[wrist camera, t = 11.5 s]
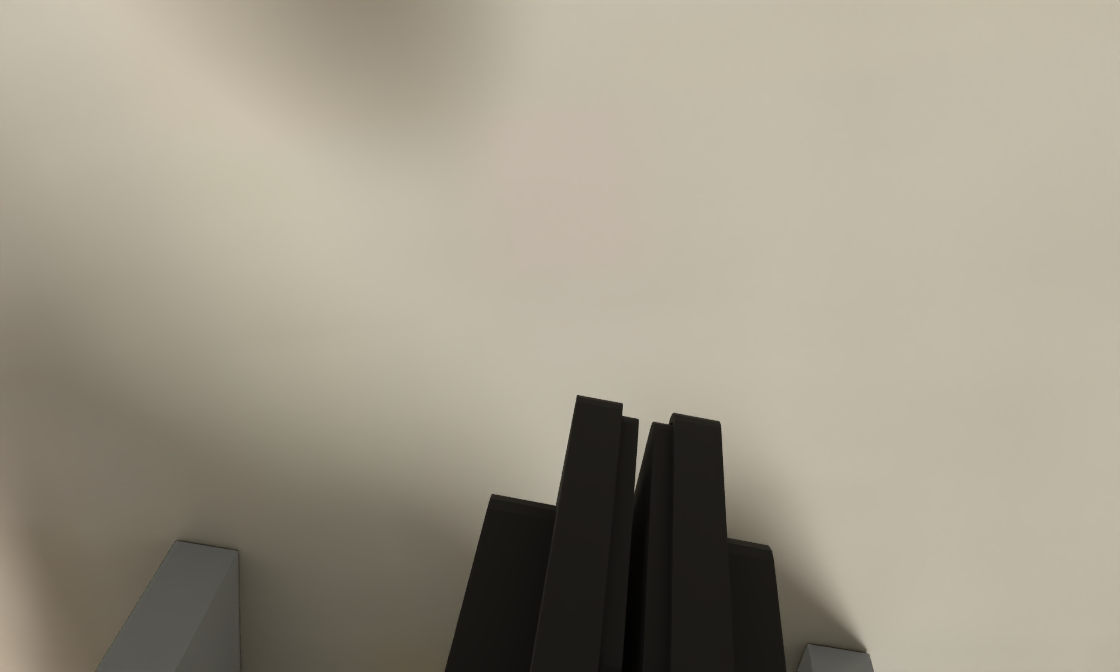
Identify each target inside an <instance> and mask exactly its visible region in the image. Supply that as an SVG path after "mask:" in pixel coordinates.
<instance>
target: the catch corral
mask: <svg viewBox="0 0 1120 672" xmlns="http://www.w3.org/2000/svg"><path fill="white" fill-rule="evenodd" d="M95 672H240V620H239V566H238V551H236V550H230V549H224V548H218V547H211V546H205V545H199V544H193V543H187V542H181V541H175V542H174V544H173V546H172V547H171V549H170V551H169V552H168V554H167V555H166V557H165V559H164V560H163V562H162V564H161V565H160V567H159V569H158V570H157V572H156V573H155V575H154V577H153V578H152V580H151V582H150V583H149V585H148V586H147V588H146V590H145V591H144V593H143V595H142V596H141V598H140V599H139V601H138V603H137V604H136V606H135V608H134V609H133V611H132V612H131V614H130V616H129V617H128V619H127V621H126V622H125V624H124V625H123V627H122V629H121V630H120V632H119V634H118V635H117V637H116V638H115V640H114V642H113V643H112V645H111V647H110V648H109V650H108V651H107V653H106V655H105V656H104V658H103V660H102V661H101V663H100V664H99V666H98V668H97V669H96V671H95ZM797 672H874V670H873V666H872V662H871V659H870V655H869V654H867V653H860V652H854V651H848V650H842V649H836V648H830V647H824V646H818V645H811V644H807V647H806V649H805V652H804V654H803V657H802V660H801V662H800V665H799V667H798V670H797Z"/></svg>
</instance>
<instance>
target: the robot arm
mask: <svg viewBox="0 0 1120 672" xmlns="http://www.w3.org/2000/svg"><path fill="white" fill-rule="evenodd" d="M622 410H623V404H622V403H618V402H612V401H607V400H601V399H596V398H591V397H585V396H580V395H577V398H576V403H575V408H574V414H573V419H572V424H571V429H570V434H569V440H568V445H567V450H566V455H565V461H564V466H563V471H562V476H561V482H560V487H559V492H558V497H557V503H556V506H554V505H549V504H543V503H538V502H533V501H527V500H522V499H517V498H511V497H506V496H500V495H495V494H492V495H491V498H490V501H489V504H488V508H487V512H486V516H485V519H484V523H483V527H482V531H481V535H480V539H479V542H478V546H477V550H476V554H475V558H474V562H473V565H472V569H471V573H470V577H469V581H468V585H467V588H466V592H465V596H464V600H463V604H462V608H461V612H460V615H459V619H458V623H457V627H456V631H455V635H454V638H453V642H452V646H451V650H450V654H449V658H448V661H447V665H446V669H445V672H786V665H785V656H784V647H783V638H782V629H781V620H780V611H779V602H778V593H777V584H776V575H775V566H774V559H773V554H772V550H771V549H770V547H769V546H768V545H763V544H757V543H752V542H747V541H741V540H736V539H731V538H727V527H726V508H725V490H724V471H723V453H722V434H721V424H720V422H719V421H715V420H710V419H704V418H699V417H693V416H688V415H683V414H677V413H673V414H672V416H671V418H670V421H669V425H668V424H663V423H658V422H653V423H652V425H651V428H650V432H649V436H648V440H647V444H646V448H645V452H644V456H643V460H642V465H641V469H640V473H639V477H638V481H637V485H636V489H635V493H634V486H635V472H636V457H637V442H638V428H639V419H636V418H631V417H625V416H622Z"/></svg>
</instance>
